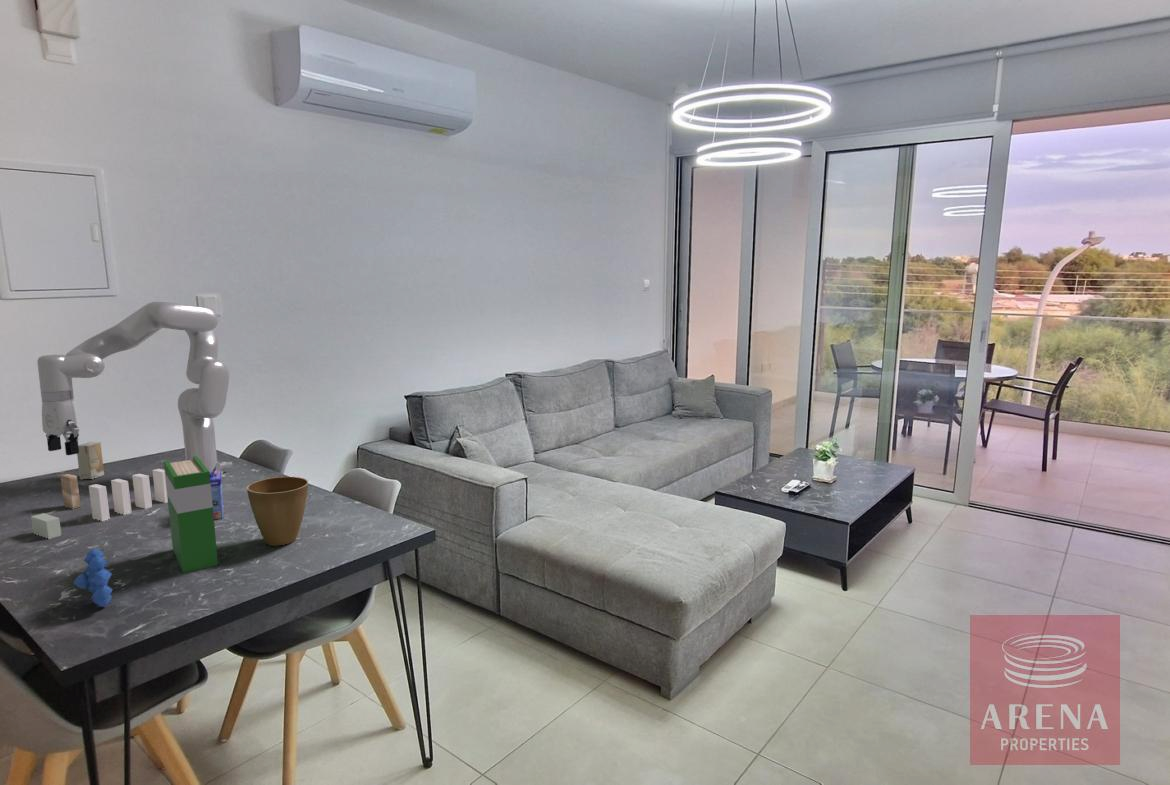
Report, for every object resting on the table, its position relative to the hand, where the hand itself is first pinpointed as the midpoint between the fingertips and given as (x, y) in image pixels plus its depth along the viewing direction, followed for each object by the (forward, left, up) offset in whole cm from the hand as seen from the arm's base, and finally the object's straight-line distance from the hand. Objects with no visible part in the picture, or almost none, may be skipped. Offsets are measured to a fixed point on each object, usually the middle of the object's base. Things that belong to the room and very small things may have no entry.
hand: (63, 452), depth 199 cm
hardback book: (-18, +66, -18) cm, 71 cm away
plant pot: (-38, +70, -18) cm, 82 cm away
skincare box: (-9, -33, -18) cm, 39 cm away
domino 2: (-5, +18, -18) cm, 26 cm away
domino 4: (-17, +14, -18) cm, 28 cm away
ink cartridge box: (-30, +36, -18) cm, 50 cm away
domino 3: (-11, +16, -18) cm, 26 cm away
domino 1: (0, 0, -18) cm, 18 cm away
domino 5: (-22, +12, -18) cm, 31 cm away
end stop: (+7, +23, -18) cm, 30 cm away
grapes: (+4, +79, -18) cm, 81 cm away
